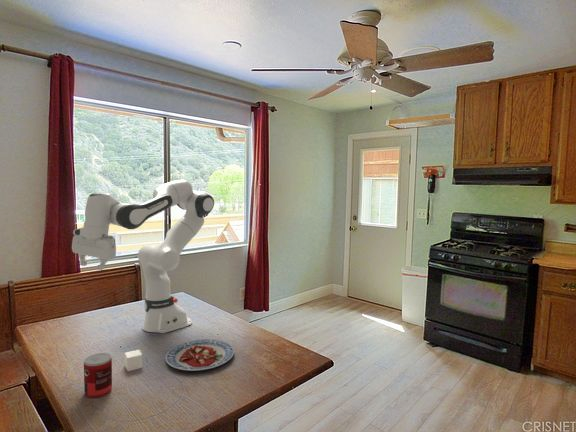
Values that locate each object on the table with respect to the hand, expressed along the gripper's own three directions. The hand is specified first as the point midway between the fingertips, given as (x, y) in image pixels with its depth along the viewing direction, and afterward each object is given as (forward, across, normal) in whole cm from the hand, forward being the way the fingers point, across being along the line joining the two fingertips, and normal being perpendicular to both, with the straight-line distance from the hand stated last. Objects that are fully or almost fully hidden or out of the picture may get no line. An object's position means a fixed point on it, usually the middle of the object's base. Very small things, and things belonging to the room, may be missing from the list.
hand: (91, 267), depth 137 cm
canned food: (+34, -29, +17) cm, 48 cm away
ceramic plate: (+30, -45, -15) cm, 56 cm away
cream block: (+32, -27, +1) cm, 42 cm away
